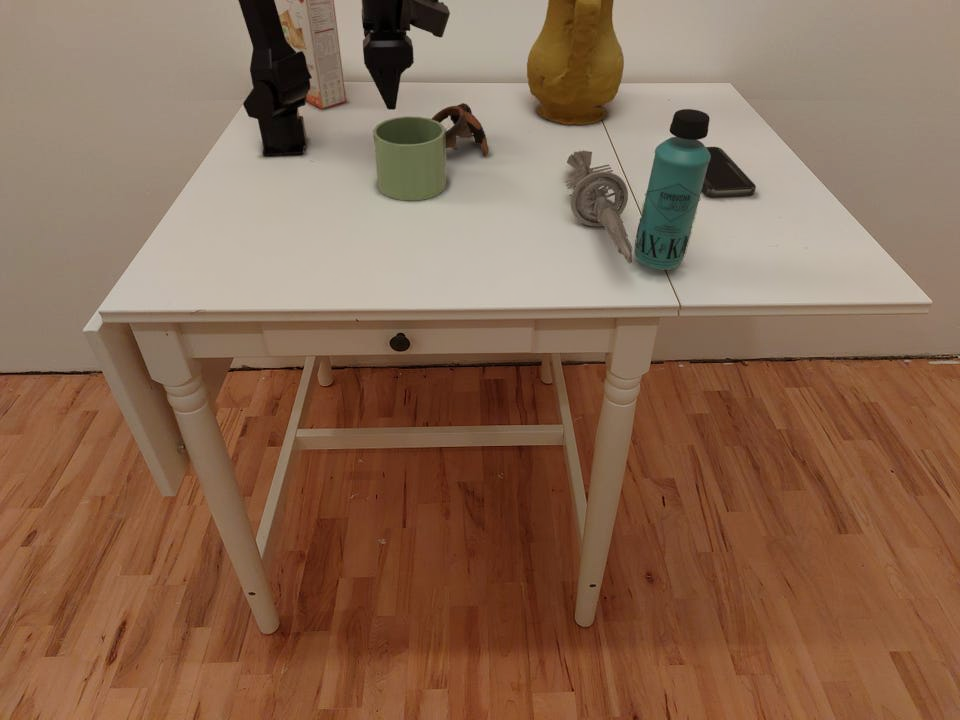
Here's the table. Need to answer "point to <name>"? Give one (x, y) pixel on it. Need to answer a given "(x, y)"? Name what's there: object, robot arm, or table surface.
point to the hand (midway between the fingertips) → (390, 96)
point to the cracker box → (315, 46)
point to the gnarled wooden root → (462, 126)
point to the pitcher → (575, 62)
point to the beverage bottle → (673, 192)
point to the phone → (725, 177)
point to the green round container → (410, 157)
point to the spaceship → (599, 199)
